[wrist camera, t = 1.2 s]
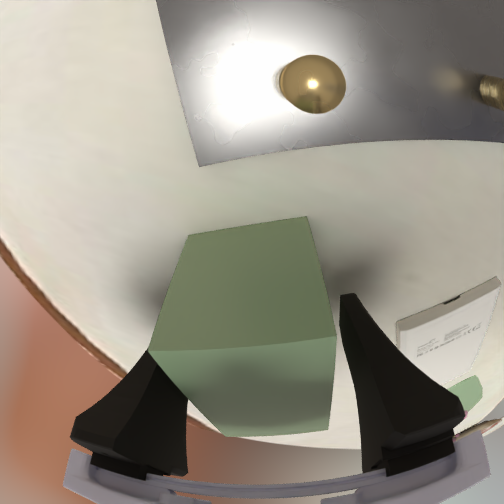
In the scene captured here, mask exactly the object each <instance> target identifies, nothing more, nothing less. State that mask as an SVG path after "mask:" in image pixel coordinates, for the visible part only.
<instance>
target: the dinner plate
mask: <svg viewBox="0 0 504 504" xmlns="http://www.w3.org/2000/svg"><path fill="white" fill-rule="evenodd" d="M501 421H502V419H495V420H490V421H484V422H482V423H480V424H478V425H476V426H474V427H472V428H470V429H468V430H466V431H464V432H462V433H461V434H460V435H459V436H458V437H453V438H452V439H454V438H455V439H456V441H457V440H459V439H461V438H463V437H465V436H467V435H469V434H471V433H473V432H475V431H477V430H481V433H482V434H483V433H485V432H486V431H488V430H490V429H491V428H493V427H494V426H496V425H497V424H498V423H500V422H501Z"/></svg>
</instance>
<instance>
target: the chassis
mask: <svg viewBox="0 0 504 504" xmlns="http://www.w3.org/2000/svg"><path fill="white" fill-rule="evenodd" d="M156 2H157V7H158V11H159V16H160V20H161V24H162V28H163V33H164V37H165V41H166V45H167V49H168V53H169V57H170V61H171V65H172V69H173V73H174V77H175V81H176V84H177V88H178V92H179V96H180V100H181V103H182V107H183V111H184V115H185V118H186V122H187V126H188V129H189V133H190V136H191V140H192V144H193V147H194V151H195V154H196V158H197V161H198V165H199V167H202V166H206V165H211V164H215V163H220V162H225V161H230V160H235V159H240V158H246V157H251V156H257V155H263V154H269V153H275V152H281V151H288V150H295V149H303V148H310V147H319V146H327V145H337V144H348V143H360V142H374V141H393V140H470V141H487V142H500V143H504V0H156Z"/></svg>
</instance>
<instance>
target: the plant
mask: <svg viewBox="0 0 504 504" xmlns="http://www.w3.org/2000/svg"><path fill="white" fill-rule="evenodd" d="M447 390H448V391H450V392H452V393H453V394H455V395H456V396H458V397H459V399H460V401H461V403H462V405H463V408H464V411H465V414H466V416H467V414H468V411H469V410H471V409H472V408H473V407H474V406H475V405H476V404H477V403H478V402H479V400H480V399H481V398H482V386H481V384H480V381H479V379H478V377H477V376H476V375H474V376H472V377H470V378H467V379H465V380H463V381H461V382H459V383H458V384H456V385H454V386H452V387H451V388H449V389H447ZM466 416H465V418H466ZM465 418H464V419H465ZM459 435H460V434H459V433H458V434H456V435H455V436H453V437H458V436H459ZM455 441H456V439H455V438H454V439H453V442H455Z"/></svg>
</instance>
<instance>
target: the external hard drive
mask: <svg viewBox="0 0 504 504" xmlns="http://www.w3.org/2000/svg"><path fill="white" fill-rule="evenodd" d="M500 287H501V282H500V281H499V279H498V278H497V277H494V278H492V279H491V280H489V281H487V282H485V283H483V284H481V285H479V286H477V287H475V288H473V289H471V290H469V291H467V292H465V293H463V294H461V295H460V296H459V297H458V298H456V299H454V300H452V301H450V302H448V303H446V304H443V303H441V304H439V305H436V306H434V307H432V308H429V309H427V310H425V311H422V312H420V313H417V314H415V315H412V316H410V317H407V318H405V319H402V320H399V321H397V322H396V329H397V348H398V349H399V350H400V351H401V352H402V353H403V354H404V355H405V356H406V357H407V358H408V359H409V360H410V361H411V362H412V363H413V364H414V365H415V366H416V367H418V368H419V369H420V370H421V371H423V372H424V373H425V374H426V375H427V376H429V377H430V378H431V379H433V380H434V381H435V382H437V383H438V384H439V385H443V384H445V383H447V382H450V381H452V380H454V379H456V378H458V377H460V376H462V375H464V374H466V373H468V372H469V371H470V370H471V368H472V366H473V364H474V362H475V360H476V357H477V355H478V352H479V350H480V347H481V345H482V342H483V340H484V337H485V335H486V332H487V329H488V326H489V323H490V320H491V317H492V314H493V311H494V308H495V304H496V301H497V297H498V294H499V290H500Z"/></svg>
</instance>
